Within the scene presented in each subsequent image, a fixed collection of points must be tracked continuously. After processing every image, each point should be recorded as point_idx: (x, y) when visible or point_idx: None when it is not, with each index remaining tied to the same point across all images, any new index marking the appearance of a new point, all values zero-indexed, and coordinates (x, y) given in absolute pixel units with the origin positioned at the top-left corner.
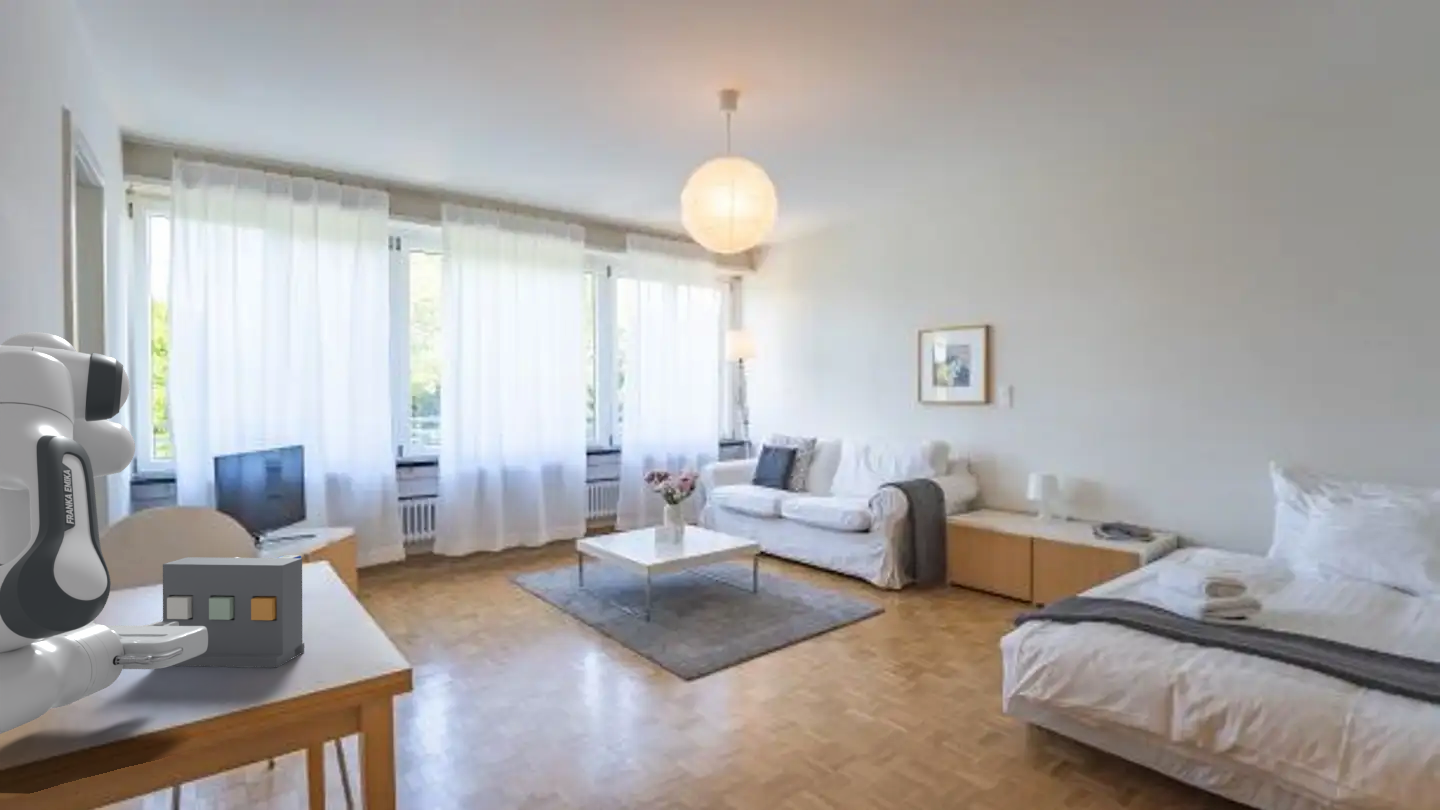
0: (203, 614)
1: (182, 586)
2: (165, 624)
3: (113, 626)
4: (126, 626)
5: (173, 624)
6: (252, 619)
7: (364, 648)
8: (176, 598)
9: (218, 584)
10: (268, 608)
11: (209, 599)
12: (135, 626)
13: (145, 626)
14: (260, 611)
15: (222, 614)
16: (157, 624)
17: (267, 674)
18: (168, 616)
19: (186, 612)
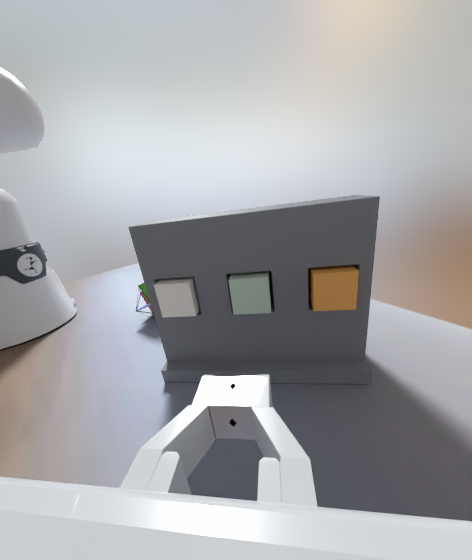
0: (218, 306)
1: (172, 263)
2: (252, 403)
3: (45, 528)
4: (122, 534)
5: (269, 392)
6: (316, 310)
7: (422, 325)
8: (169, 284)
9: (238, 253)
10: (350, 288)
11: (229, 281)
12: (184, 546)
13: (257, 553)
14: (333, 295)
15: (257, 305)
16: (220, 404)
17: (389, 411)
18: (164, 313)
19: (192, 306)
